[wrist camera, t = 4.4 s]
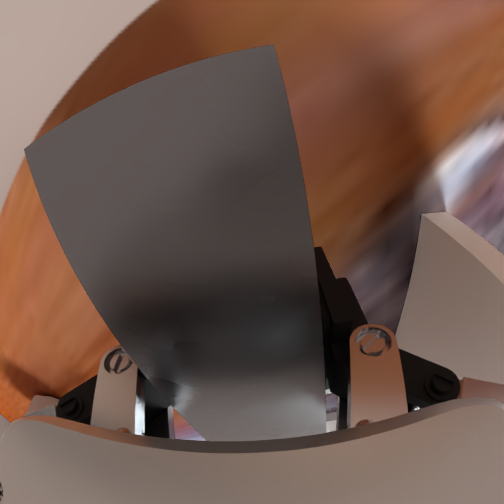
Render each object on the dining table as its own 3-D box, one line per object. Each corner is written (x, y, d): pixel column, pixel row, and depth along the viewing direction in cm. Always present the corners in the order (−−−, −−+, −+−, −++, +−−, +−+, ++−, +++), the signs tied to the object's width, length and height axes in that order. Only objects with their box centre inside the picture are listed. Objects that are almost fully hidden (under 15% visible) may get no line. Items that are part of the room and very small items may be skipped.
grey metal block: (258, 86, 8) (274, 44, 2) (309, 364, 14) (326, 459, 9) (145, 119, 8) (24, 149, 3) (242, 375, 15) (240, 469, 10)
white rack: (452, 211, 13) (583, 331, 3) (370, 431, 27) (388, 500, 17) (142, 248, 13) (43, 456, 4) (237, 453, 28) (239, 525, 18)
